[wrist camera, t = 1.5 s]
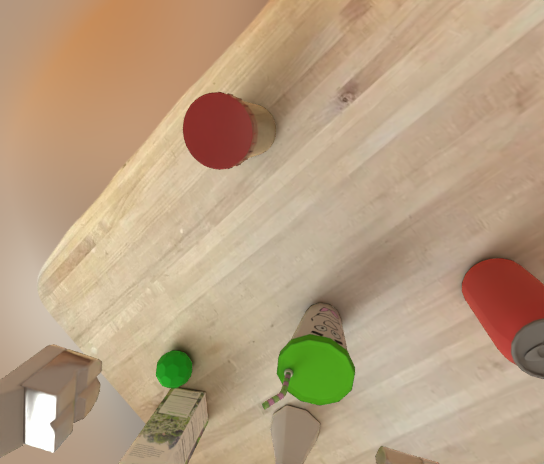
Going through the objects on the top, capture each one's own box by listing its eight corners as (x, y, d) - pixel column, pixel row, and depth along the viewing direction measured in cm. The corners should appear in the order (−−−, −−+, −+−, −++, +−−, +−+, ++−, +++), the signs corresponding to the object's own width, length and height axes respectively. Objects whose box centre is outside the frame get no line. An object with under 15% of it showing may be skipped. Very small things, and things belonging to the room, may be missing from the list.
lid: (230, 77, 28) (223, 74, 27) (272, 141, 29) (268, 142, 28) (177, 122, 31) (168, 122, 29) (218, 181, 31) (211, 184, 30)
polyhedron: (195, 345, 49) (179, 367, 45) (199, 373, 51) (185, 397, 46) (163, 343, 50) (145, 364, 46) (169, 371, 52) (152, 394, 47)
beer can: (448, 273, 38) (489, 334, 27) (509, 245, 36) (580, 299, 25) (477, 319, 39) (527, 396, 28) (538, 294, 37) (619, 367, 26)
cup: (365, 308, 42) (372, 400, 28) (337, 354, 45) (331, 459, 31) (307, 280, 42) (285, 357, 28) (283, 328, 45) (253, 419, 31)
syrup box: (175, 414, 54) (117, 511, 41) (171, 384, 52) (109, 474, 39) (209, 420, 53) (161, 521, 40) (206, 389, 51) (155, 484, 38)
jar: (257, 92, 37) (224, 81, 27) (286, 136, 38) (264, 140, 28) (219, 123, 39) (176, 123, 29) (247, 165, 40) (213, 178, 30)
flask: (306, 452, 51) (295, 526, 41) (263, 428, 51) (243, 495, 42) (329, 421, 48) (324, 493, 39) (284, 396, 49) (268, 461, 39)
